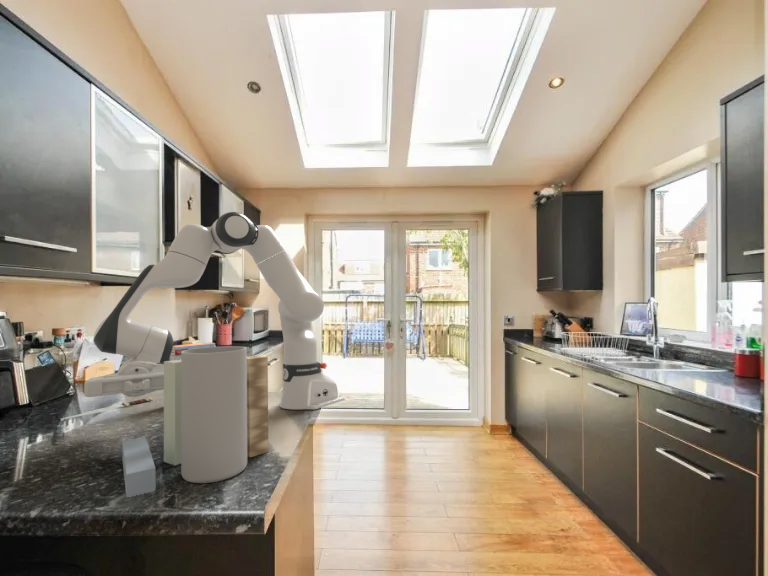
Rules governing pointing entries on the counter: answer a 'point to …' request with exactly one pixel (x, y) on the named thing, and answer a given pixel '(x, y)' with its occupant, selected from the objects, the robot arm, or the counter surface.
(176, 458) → the post sage
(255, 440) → the post oak
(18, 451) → the counter surface
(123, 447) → the post slate
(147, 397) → the knife
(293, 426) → the counter surface
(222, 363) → the cylinder vase
